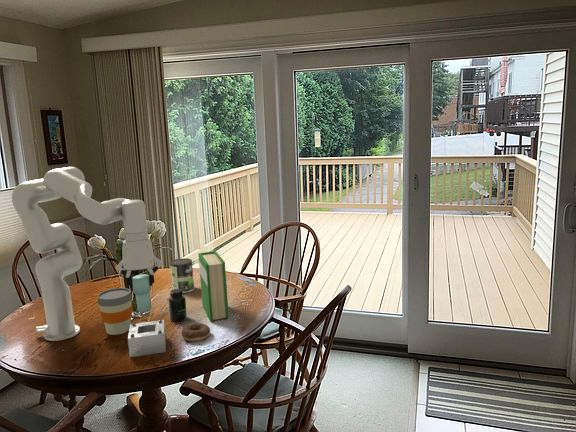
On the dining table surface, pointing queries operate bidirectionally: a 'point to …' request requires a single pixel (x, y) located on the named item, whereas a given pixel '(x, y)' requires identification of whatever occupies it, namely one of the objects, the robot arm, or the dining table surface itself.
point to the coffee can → (182, 275)
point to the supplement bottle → (177, 306)
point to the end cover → (142, 292)
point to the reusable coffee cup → (116, 310)
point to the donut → (195, 332)
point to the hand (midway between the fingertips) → (141, 285)
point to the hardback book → (213, 285)
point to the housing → (147, 338)
